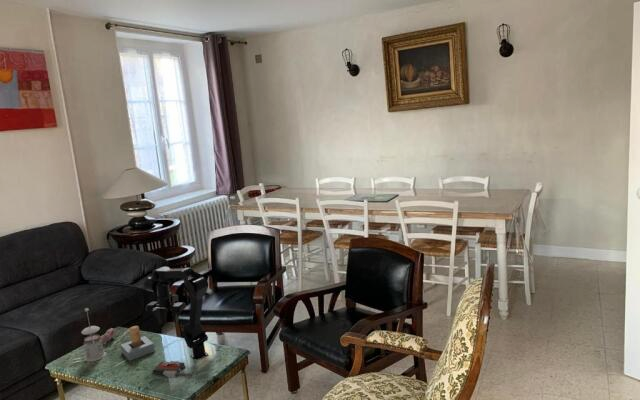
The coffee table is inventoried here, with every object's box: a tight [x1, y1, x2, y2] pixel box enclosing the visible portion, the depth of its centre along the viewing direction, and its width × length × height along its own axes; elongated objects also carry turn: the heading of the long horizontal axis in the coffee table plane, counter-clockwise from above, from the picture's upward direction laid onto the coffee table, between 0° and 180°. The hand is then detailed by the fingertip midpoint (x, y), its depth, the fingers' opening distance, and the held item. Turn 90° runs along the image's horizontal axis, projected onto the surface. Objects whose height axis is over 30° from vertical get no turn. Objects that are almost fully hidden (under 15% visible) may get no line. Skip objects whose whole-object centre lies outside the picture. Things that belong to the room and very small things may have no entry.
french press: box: [80, 307, 107, 362], centre depth 232 cm, size 10×12×25 cm
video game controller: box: [101, 327, 116, 345], centre depth 250 cm, size 10×5×7 cm, turn 0°
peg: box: [128, 325, 142, 348], centre depth 233 cm, size 4×4×12 cm
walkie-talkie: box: [152, 360, 193, 378], centre depth 212 cm, size 9×4×20 cm
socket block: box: [120, 335, 155, 361], centre depth 234 cm, size 12×12×4 cm
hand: (168, 323), depth 233 cm, fingers open, 9 cm apart
